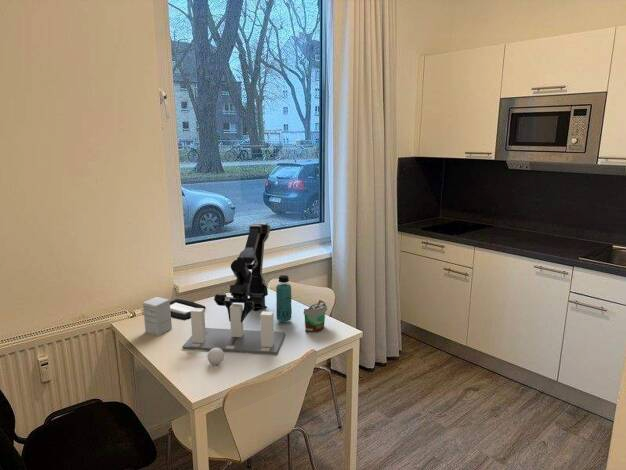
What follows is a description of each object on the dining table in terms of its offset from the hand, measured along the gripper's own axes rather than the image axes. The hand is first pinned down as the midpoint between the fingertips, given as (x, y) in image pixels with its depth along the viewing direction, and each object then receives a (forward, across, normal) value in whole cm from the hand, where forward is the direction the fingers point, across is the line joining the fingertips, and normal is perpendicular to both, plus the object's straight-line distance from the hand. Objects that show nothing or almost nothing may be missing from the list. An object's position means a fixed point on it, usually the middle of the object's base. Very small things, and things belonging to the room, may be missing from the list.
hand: (235, 321), depth 161 cm
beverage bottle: (-8, +15, +19) cm, 25 cm away
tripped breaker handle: (+3, 0, +5) cm, 6 cm away
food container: (-4, +30, +15) cm, 34 cm away
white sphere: (+18, -3, -7) cm, 19 cm away
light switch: (-11, -33, +23) cm, 42 cm away
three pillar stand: (+6, 0, +5) cm, 8 cm away
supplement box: (+2, -33, +9) cm, 34 cm away
